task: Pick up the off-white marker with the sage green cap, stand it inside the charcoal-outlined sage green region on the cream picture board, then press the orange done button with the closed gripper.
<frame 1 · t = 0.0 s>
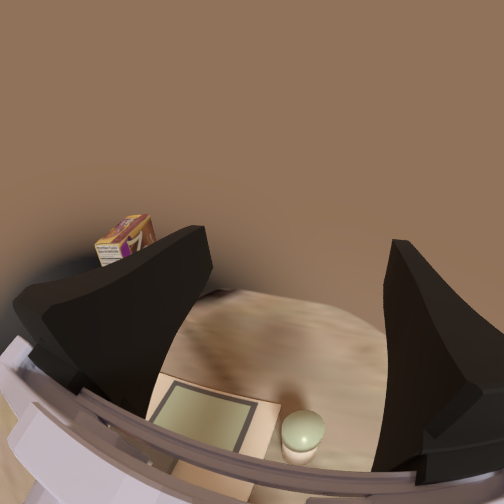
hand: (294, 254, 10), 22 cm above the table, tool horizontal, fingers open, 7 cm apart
marker: (298, 451, 21), on the table
done button base: (129, 474, 18), resting on picture board
candy box: (153, 319, 40), on the table
picture board: (177, 455, 21), on the table
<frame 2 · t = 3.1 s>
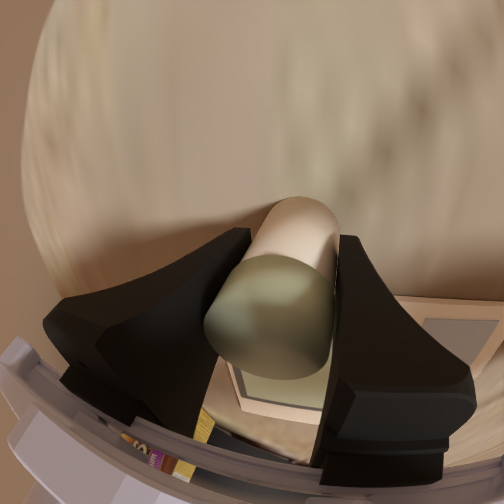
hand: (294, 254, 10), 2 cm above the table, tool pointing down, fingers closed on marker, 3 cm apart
marker: (301, 231, 12), on the table, touching gripper
candy box: (180, 405, 30), on the table
picture board: (355, 381, 16), on the table
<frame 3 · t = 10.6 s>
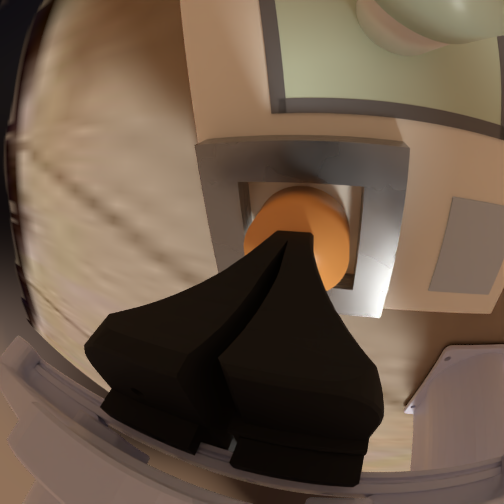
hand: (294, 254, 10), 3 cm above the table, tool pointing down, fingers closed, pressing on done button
marker: (398, 18, 6), resting on picture board
done button base: (305, 221, 13), resting on picture board
picture board: (389, 126, 9), on the table
done button: (299, 241, 11), point 2 cm above the table, slide at 0.6 cm, touching gripper
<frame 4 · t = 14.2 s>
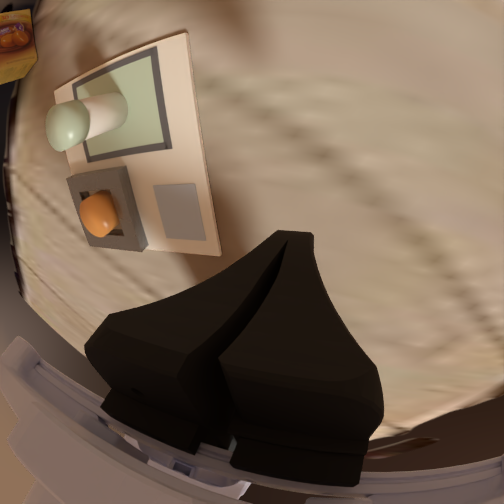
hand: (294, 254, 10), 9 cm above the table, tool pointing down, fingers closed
marker: (114, 110, 18), resting on picture board
done button base: (110, 206, 25), resting on picture board
candy box: (27, 42, 16), on the table
picture board: (124, 159, 21), on the table
done button: (99, 213, 24), point 2 cm above the table, slide at 0.7 cm
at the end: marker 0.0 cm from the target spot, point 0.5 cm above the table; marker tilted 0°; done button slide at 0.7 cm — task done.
